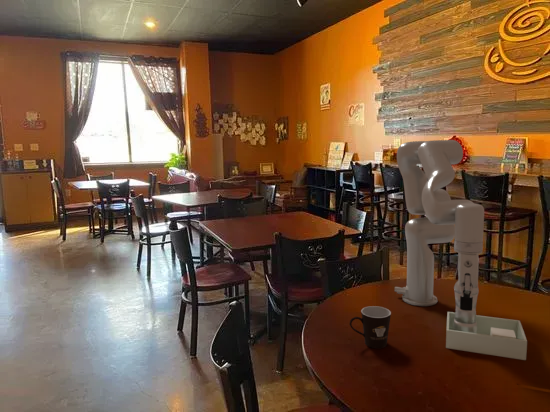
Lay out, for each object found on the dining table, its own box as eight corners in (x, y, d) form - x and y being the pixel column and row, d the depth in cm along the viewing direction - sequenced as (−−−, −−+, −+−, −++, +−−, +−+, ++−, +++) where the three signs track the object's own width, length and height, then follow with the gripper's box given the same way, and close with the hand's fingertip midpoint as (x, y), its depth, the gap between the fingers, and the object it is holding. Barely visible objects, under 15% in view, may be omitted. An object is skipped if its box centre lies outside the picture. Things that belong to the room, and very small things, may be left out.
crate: (445, 349, 120) (446, 330, 119) (446, 329, 133) (447, 311, 132) (525, 362, 112) (527, 341, 111) (518, 339, 125) (519, 320, 124)
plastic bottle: (479, 341, 120) (483, 274, 118) (454, 339, 122) (457, 273, 119) (473, 331, 127) (476, 268, 124) (450, 330, 128) (452, 267, 125)
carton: (491, 347, 119) (492, 334, 119) (490, 339, 124) (490, 327, 123) (515, 351, 117) (516, 337, 116) (513, 343, 122) (513, 330, 121)
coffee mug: (391, 338, 128) (391, 307, 126) (389, 352, 120) (389, 319, 118) (353, 334, 132) (353, 304, 130) (349, 346, 124) (349, 314, 122)
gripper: (484, 254, 111) (481, 318, 114) (480, 240, 127) (478, 297, 129) (453, 252, 114) (451, 315, 117) (454, 238, 130) (452, 294, 132)
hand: (465, 305), depth 123 cm, fingers closed on plastic bottle, 6 cm apart
